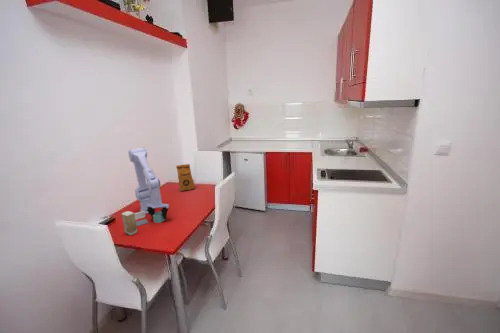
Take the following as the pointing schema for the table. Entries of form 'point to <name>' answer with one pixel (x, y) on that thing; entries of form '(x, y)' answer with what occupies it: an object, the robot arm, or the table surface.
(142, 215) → the light grey piece
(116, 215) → the table surface
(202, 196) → the table surface
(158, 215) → the teal block
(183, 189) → the coffee package
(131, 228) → the skincare box
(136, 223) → the mat
